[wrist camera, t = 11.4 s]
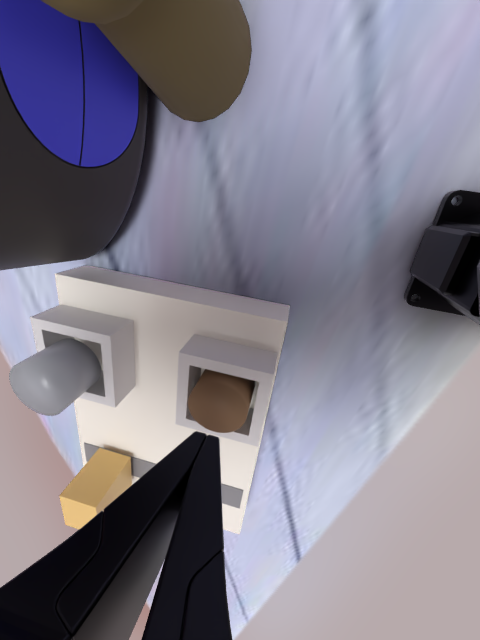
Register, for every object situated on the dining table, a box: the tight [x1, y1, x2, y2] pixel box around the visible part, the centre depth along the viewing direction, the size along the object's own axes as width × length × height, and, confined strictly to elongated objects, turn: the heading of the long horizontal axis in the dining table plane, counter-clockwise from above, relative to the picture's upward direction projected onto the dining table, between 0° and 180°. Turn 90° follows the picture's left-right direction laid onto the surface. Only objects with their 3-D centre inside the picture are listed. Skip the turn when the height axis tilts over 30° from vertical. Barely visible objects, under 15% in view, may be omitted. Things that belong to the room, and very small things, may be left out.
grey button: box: [9, 338, 101, 416], centre depth 17 cm, size 4×4×3 cm
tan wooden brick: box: [60, 448, 132, 529], centre depth 23 cm, size 3×4×4 cm
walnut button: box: [188, 369, 255, 433], centre depth 17 cm, size 4×4×3 cm
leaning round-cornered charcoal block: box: [0, 0, 147, 270], centre depth 13 cm, size 16×5×9 cm, turn 162°
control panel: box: [30, 265, 290, 534], centre depth 22 cm, size 16×22×6 cm
